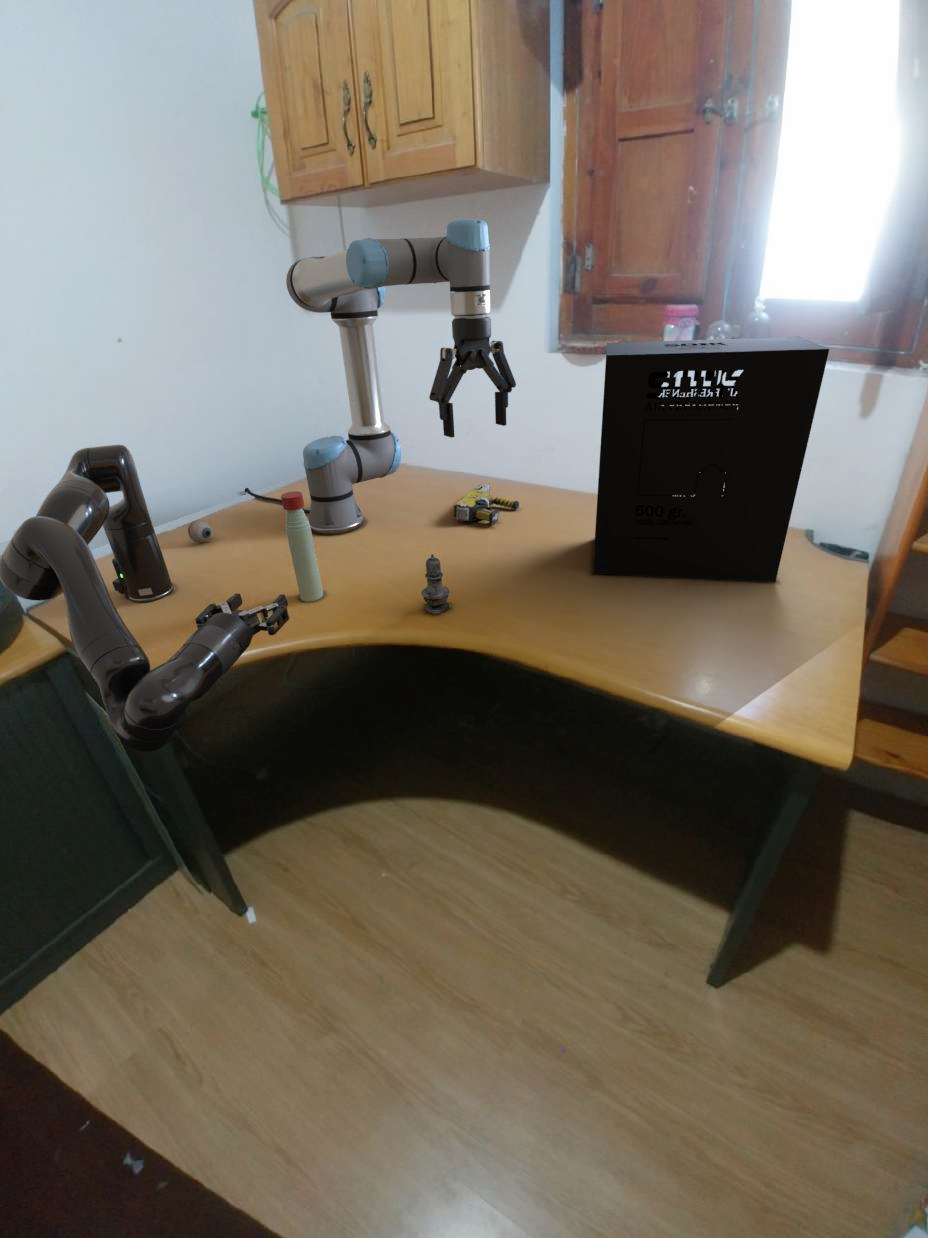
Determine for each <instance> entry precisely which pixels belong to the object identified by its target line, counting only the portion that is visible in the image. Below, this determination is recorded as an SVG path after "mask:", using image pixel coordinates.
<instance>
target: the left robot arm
mask: <svg viewBox="0 0 928 1238" xmlns="http://www.w3.org/2000/svg"><path fill="white" fill-rule="evenodd" d="M140 481H141V480H140V478H139V474H138V470H137V465H136V463H135V460H134V457H133V455H132V453H131V451H130V450H129V448H128V447H127V446H126V445H123V444H109V445H100V446H90V447H84V448H80V449H78V450H77V451H75V452H74V453H73V455H72V456H71V458H70V460H69V463H68V464H67V468H66V470H65V472H64V474H63V475H62V477H61V478H60V479H59V481H58V482H57V484H55V486H54V487H53V488H52V489H51V491H50V492H49V493H47V495H46V497H45V498H44V500H43V502H42V504H41V505H40V507H39V508H38V510H37V513H36V515H35V516H32V517H28V518H27V519H26V520H24V521H23V522H22V523H21V524H20V525H19V527H18V528H17V529H16V530H15V532H14V533H13V536H12V537H11V539H10V541H9V542H8V544H7V545H6V546H5V548H4V551H3V552H2V554H1V555H0V581H1V583H2V585H3V586H4V587H5V588H6V589H7V590H8V591H9V592H11V594H13V595H14V596H17V597H19V598H21V599H23V600H29V601H37V602H38V601H39V602H41V601H48V600H52V599H54V598H57V597H59V596H60V595H61V594H63V596H64V597H63V599H64V602H65V609H66V617H67V623H68V629H69V634H70V640H71V643H72V646H73V648H74V650H75V653H76V655H77V656H78V659H79V660H80V662H81V663H82V664H83V666H84V667H85V669H86V670H87V672H88V673H89V675H90V677H91V678H92V680H93V681H94V682H95V684H96V685H97V687H98V689H99V690H98V691H99V693H100V695H101V700H102V704H103V706H104V709H105V711H106V714H107V716H108V720H109V723H110V725H111V727H112V728H113V731H114V732H115V734H116V736H117V737H118V738H119V740H121V741H122V742H123V743H124V744H125V745H126V746H128V747H130V748H131V749H133V750H136V751H137V752H145V753H147V752H148V753H151V752H156V751H159V750H160V749H162V748H165V746H166V745H167V744H169V742H170V741H171V740H172V739H173V737H174V735H175V733H176V730H177V728H178V725H179V724H180V722H181V719H182V717H183V715H184V713H185V712H186V710H187V708H188V707H189V706H190V704H191V703H192V702H195V701H197V700H199V699H201V698H202V697H203V696H205V695H206V694H207V693H208V692H209V690H211V688H212V687H213V686H214V685H215V684H216V683H217V681H218V680H219V679H220V678H221V677H222V676H223V675H225V674H226V673H227V672H228V671H229V670H230V669H231V668H232V667H233V666H234V664H236V662H237V661H238V660H239V659H240V658H241V656H242V655H243V654H244V653H245V651H246V650H248V648H249V647H250V646H251V643H252V640H253V637H254V636H255V635H257V634H258V633H260V632H261V631H264V632H267V633H268V636H275V635H276V634H277V633H278V632H279V631H280V630H281V629H282V628H283V626H284V625H285V624H287V623H288V621H290V615H289V612H288V606H289V603H288V599H287V596H286V593H285V594H284V593H280V594H279V595H278V596H277V597H276V598H275V599H274V600H273V602H272V603H271V604H269V605H266V606H263V605H259V606H256V607H254V608H251V609H248V610H247V609H246V610H243V609H239V608H240V607H241V606H242V605H243V599H242V595H241V593H240V592H239V593H233V595H231V596H230V597H229V598H227V600H225V601H222V602H220V603H219V604H218V605H217V604H216V603H210V604H208V605H207V606H206V607H205V608H204V609H203V611H201V613H199V615H198V616H196V618H195V619H194V622H195V624H196V628H197V629H196V631H194V632H193V633H192V634H191V635H190V636H189V637H188V638H187V639H186V640H185V642H184V643H183V645H182V646H181V647H180V648H179V649H178V650H176V652H175V653H173V655H172V656H171V657H170V658H169V659H168V660H167V661H166V662H163V663H162V664H159V665H158V666H156V667H155V668H152V669H151V667H152V666H151V662H150V659H149V657H148V656H147V654H146V652H145V651H144V649H143V648H142V646H141V645H140V644H139V642H138V640H137V639H136V638H135V636H134V635H133V633H131V631H130V629H129V628H128V626H127V625H126V623H125V622H124V620H123V618H122V616H121V614H119V612H118V609H117V608H116V606H115V603H114V601H113V599H112V597H111V595H110V593H109V590H108V588H107V585H106V583H105V581H104V579H103V576H102V573H101V572H100V569H99V567H98V565H97V562H96V560H95V558H94V555H93V553H92V551H91V548H90V546H89V544H90V543H91V542H92V541H93V540H94V538H95V537H96V536H97V534H98V532H99V531H100V530H101V529H102V527H103V531H104V533H105V536H106V538H107V540H108V541H107V542H108V543H109V546H110V549H111V551H112V554H113V558H112V559H111V563H112V566H113V568H114V571H115V573H116V576H117V578H115V579H114V580H113V581H112V582H111V583H112V586H113V589H114V591H115V592H118V593H119V594H120V595H124V598H125V599H127V600H128V599H129V600H130V601H132V602H136V603H145V602H146V603H148V602H151V601H156V600H160V599H162V598H164V597H166V596H168V595H170V594H171V593H172V592H173V590H174V587H175V586H174V585H173V582H172V579H171V577H170V573H169V571H168V567H167V564H166V561H165V557H164V555H163V551H162V549H161V546H160V543H159V539H158V537H157V534H156V531H155V528H154V525H153V520H152V518H151V516H150V513H149V509H148V506H147V502H146V499H145V495H144V492H143V489H142V485H141V482H140ZM117 492H118V493H119V492H121V493H122V497H123V498H122V499H120V500H119V501H118V502H116V503H114V504H112V505H110V499H109V497H108V495H107V494H109V493H117ZM269 612H271V613H272V614H271V615H269V614H268V613H269ZM258 614H260V617H261V621H260V618H259V616H258Z"/></svg>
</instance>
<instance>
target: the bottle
mask: <svg viewBox="0 0 928 1238" xmlns="http://www.w3.org/2000/svg"><path fill="white" fill-rule="evenodd" d="M303 509H304V508H303ZM303 509H302V508H301V509H297V510H286V511H285V514H286V515H285V524H284V525H285V533H286V537H287V541H288V547H289V550H290V554H291V555H290V556H291V561H292V566H293V569H294V574H295V580H296V584H297V588H298V593H299V598H300V601H303V602H309V603H310V602H315V601H319V600H320V599H322V598H323V596H324V592H323V590H324V589H323V586H322V581H321V575H320V570H319V564H318V560H317V555H316V549H315V548H316V547H315V544H314V538H313V534H312V533H313V532H312V531H311V527H310V524H309V521H308V520H309V519H308V516H307V514H306V513H304V510H303Z"/></svg>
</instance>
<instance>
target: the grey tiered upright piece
mask: <svg viewBox="0 0 928 1238" xmlns="http://www.w3.org/2000/svg"><path fill="white" fill-rule="evenodd" d="M425 570H426V573H425V575H424V578H426V587H424V588H423V589H422V590H421V591H420V595H421V596H422V598H423V600H424V602H425V604H424V606H423V610H424V611H425V612H426V613H429V614H442V613H445V612H447V611H448V610H449V609H450V604H449V603H448V599H449V595H450V593H451V590H450V589H449V588H448V586H445V585H443V576H444V573H443V572H442V568H441V560H440V559H439V558H438V557H435V555H434V554H433V553H432V554H431V555H430V557H429V558H427V559H426V561H425Z"/></svg>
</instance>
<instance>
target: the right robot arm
mask: <svg viewBox="0 0 928 1238" xmlns="http://www.w3.org/2000/svg"><path fill="white" fill-rule="evenodd" d="M489 240H490V238H489V226H488V224H487V222H486V220H483V219H475V218H474V219H461V220H460V219H458V220H452V221H450V222H448V223H447V225H446V235H445V236H437V237H408V238H407V237H406V238H372V237H371V238H370V237H369V238H368V237H367V238H363V239H355V240H353V241H351V242H350V243H349V245H348V248H347V249H345V250H342V251H339V252H335V253H333V254H330V255H327V256H326V255H325V256H310V257H304V258H301V259H299V260H296V261H295V262H294V263H292V264H291V265H290V267H289V268H288V271H287V273H286V281H285V282H286V283H285V284H286V290H287V292H288V294H289V296H290V298H291V299H292V301H293V302H294V303H295V304H296V305H298V307H300V308H301V309H303V310H306V311H309V312H312V313H320V314H321V313H330V317H331V321H332V322H333V323H334V324H335V325H336V326H337V327H338V331H339V338H340V345H341V353H342V354H341V355H342V361H343V366H344V375H345V381H346V389H347V396H348V403H349V410H350V418H351V425H350V426H349V428H348V430H347V436H348V439H345V437H343V436H341V435H332V436H324V437H321V438H318V439H315V440H312V441H311V442H309V443H308V444H306V445H305V446H304V448H303V450H302V457H303V459H302V460H303V467H304V471H305V476H306V481H307V486H308V492H309V498H310V507H309V509H304V507H303V508H302V509H303V510H304V513H305V514H308V519H307V520H308V521H309V524H310V527H311V533H314V534H317V535H323V536H324V535H325V536H327V535H329V536H331V535H339V534H340V535H341V534H345V533H350V532H353V531H355V530H357V529H359V528H361V527H362V526H363V525H364V523H365V519H364V514H363V512H362V508H361V507H360V506H361V505H360V504H358V501H357V500H356V498H355V495H354V489H353V485H354V484H355V485H356V484H359V483H363V482H368V481H371V480H375V479H381V478H385V477H387V476H390V475H392V474H394V473H396V472H397V470H398V469H399V467H400V465H401V462H402V446H401V443H400V440H399V437H398V436H397V435H396V434H395V432H394V431H391V426H390V425H388V423H386V422H385V420H384V419H385V418H384V409H383V402H382V391H381V383H380V382H381V381H380V376H379V375H380V373H379V366H378V365H379V364H378V356H377V349H376V340H375V339H376V337H375V331H374V324H375V322H376V321H377V319H378V318H379V312H378V309H380V308H381V307H382V306H383V305H384V303H385V298H386V287H392V286H401V285H403V286H406V285H407V286H408V285H420V284H421V285H422V284H438V283H449V296H450V297H449V298H450V315H451V316H453V319H452V320H451V332H452V333H451V334H452V335H451V336H452V339H453V342H454V345H453V347H452V348H451V347H440V350H439V351H440V352H439V363H438V365H437V370H436V373H435V376H434V379H433V382H432V383H433V384H432V386H431V390H430V393H429V396H428V398H429V400H430V401H433V402H436V403H437V404H438V411H439V413H438V414H439V419H440V420H441V421H442V426H443V428H442V430H443V436H444V437H448V438H451V439H452V438H455V421H454V420H455V419H454V404H453V403H452V402H450V401H451V399H452V397H453V395H454V393H455V391H456V390H457V387H458V386H459V384H460V382H461V380H462V378H463V376H464V375H465V374H466V373H467V372H468V371H474V370H476V369H479V370H480V369H482V370H483V371H484V373H485V374H486V376H487V377H488V378H489V379H490V381H491V382H492V384H493V385H494V386H495V388H496V389H497V390H498V391H495V392H494V407H495V408H494V415H495V425H499V426H504V427H505V426H507V408H509V393H512V391H513V388H514V389H515V388H516V386H517V383H516V379H515V377H514V375H513V372H512V370H511V367H510V365H509V361H508V359H507V357H506V354H505V350H504V343H503V341H502V340H490V338H491V337H492V319H491V318H490V316H488V315H489V314H490V313H491V311H492V310H491V286H490V285H491V273H490V272H491V271H490V270H491V269H490V268H491V267H490V266H491V265H490V248H491V245H490V241H489ZM490 341H491V342H490ZM490 354H491V356H492V358H493V359H491V357H490ZM454 359H455V361H454V362H453V360H454ZM493 360H494V362H493ZM495 365H496V366H495ZM451 369H452V370H451ZM244 493H247V494H248V495H249V496H252V497H253V498H257V499H260V500H264V501H269V502H275V503H280V504H282V499H281V498H280V499H279V498H275V497H268V496H264V495H259V494H256V493H254V492H252V491H251V490H250V488H249V487H245V488H244Z"/></svg>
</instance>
